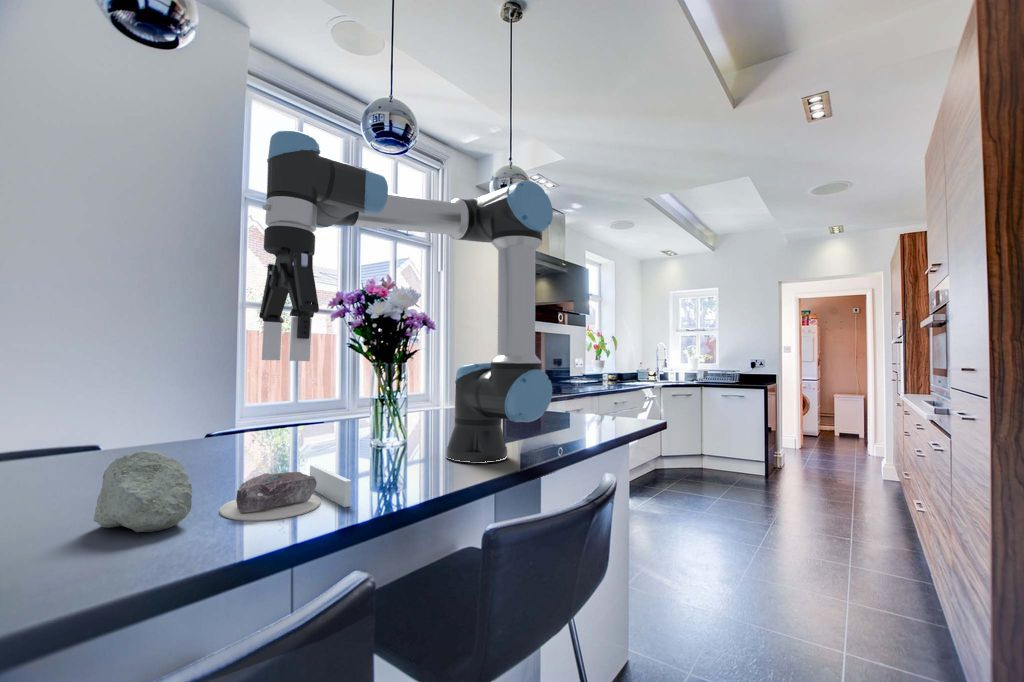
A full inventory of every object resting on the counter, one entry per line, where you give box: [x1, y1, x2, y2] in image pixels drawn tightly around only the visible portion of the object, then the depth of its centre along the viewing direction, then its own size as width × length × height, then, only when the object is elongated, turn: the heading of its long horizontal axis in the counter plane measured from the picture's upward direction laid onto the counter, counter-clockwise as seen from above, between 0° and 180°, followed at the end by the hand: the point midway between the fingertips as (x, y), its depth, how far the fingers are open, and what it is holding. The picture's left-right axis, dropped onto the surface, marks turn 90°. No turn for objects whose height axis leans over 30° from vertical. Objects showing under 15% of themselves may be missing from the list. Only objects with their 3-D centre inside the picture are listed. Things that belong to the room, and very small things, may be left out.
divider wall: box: [309, 464, 352, 508], centre depth 81 cm, size 1×15×4 cm, turn 43°
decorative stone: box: [93, 449, 193, 533], centre depth 65 cm, size 13×11×10 cm
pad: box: [219, 494, 322, 522], centre depth 75 cm, size 14×14×1 cm
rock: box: [235, 471, 317, 514], centre depth 75 cm, size 8×11×5 cm
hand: (284, 360), depth 77 cm, fingers open, 13 cm apart
